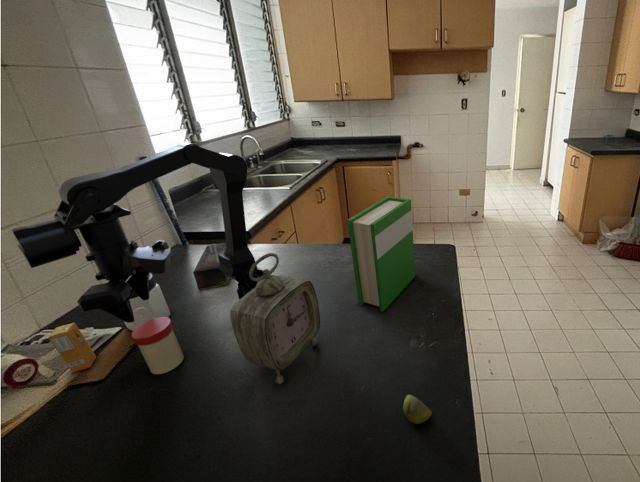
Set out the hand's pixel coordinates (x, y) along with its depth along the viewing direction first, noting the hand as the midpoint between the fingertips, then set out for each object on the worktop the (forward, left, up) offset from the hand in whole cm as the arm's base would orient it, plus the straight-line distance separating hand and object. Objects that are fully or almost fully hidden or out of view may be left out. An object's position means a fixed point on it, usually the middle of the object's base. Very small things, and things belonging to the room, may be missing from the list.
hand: (139, 310), depth 69 cm
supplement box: (+15, -2, -12) cm, 19 cm away
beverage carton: (-5, -34, -12) cm, 37 cm away
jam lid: (-3, +4, -3) cm, 5 cm away
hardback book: (-53, -5, -12) cm, 55 cm away
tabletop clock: (-27, +12, -12) cm, 32 cm away
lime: (-49, +34, -12) cm, 61 cm away
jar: (+7, -14, -12) cm, 20 cm away
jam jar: (-3, +4, -12) cm, 13 cm away
